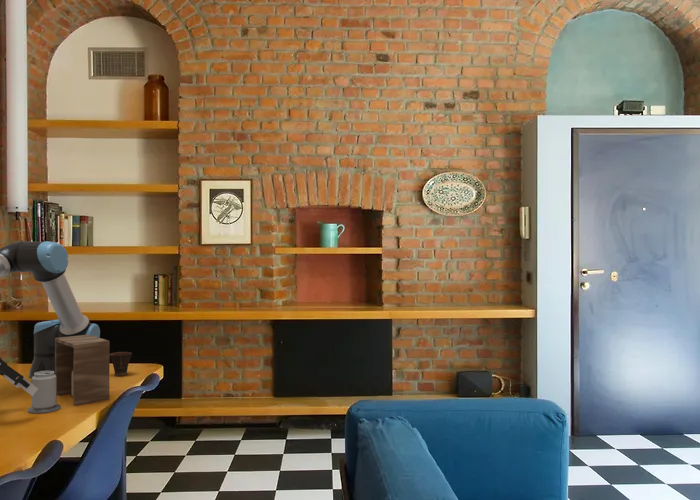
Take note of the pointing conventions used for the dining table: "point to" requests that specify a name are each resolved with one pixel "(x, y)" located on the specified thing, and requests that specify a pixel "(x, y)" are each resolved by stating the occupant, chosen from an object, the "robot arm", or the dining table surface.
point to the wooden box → (82, 368)
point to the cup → (120, 362)
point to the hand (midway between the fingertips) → (28, 388)
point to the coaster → (55, 408)
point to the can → (44, 390)
